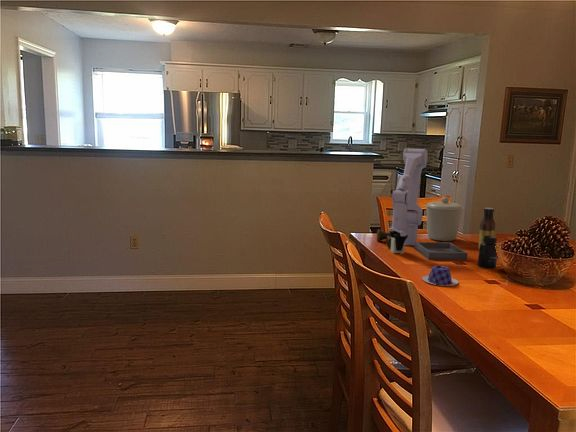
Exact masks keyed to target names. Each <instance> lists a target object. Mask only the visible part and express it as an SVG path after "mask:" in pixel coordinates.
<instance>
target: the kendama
mask: <svg viewBox="0 0 576 432" xmlns="http://www.w3.org/2000/svg"><path fill="white" fill-rule="evenodd" d="M383 240H385V244H386V246H387V247H388V248H389V249H391V235H390V232H385V231H383V230H381V229H379V228H378V229H377V230H376V241H377V242H381V241H383Z"/></svg>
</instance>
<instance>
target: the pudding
mask: <svg viewBox="0 0 576 432" xmlns="http://www.w3.org/2000/svg"><path fill="white" fill-rule="evenodd" d="M421 279H422V280H423V282H425V283H428V284H431V285H434V286H437V285H436V284H441V285H439V286H443V287H450V286H456V285H459V281H458V280H457V279H455V278H453V277H452V274H451V269H450V267H448V266H445V265H444V266H443V265H433V266H432V267H431V270H430V272H429V274H426V275H424V276H422V277H421ZM452 282H453V284H452Z"/></svg>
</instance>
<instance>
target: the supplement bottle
mask: <svg viewBox="0 0 576 432" xmlns="http://www.w3.org/2000/svg"><path fill="white" fill-rule="evenodd" d="M483 241H484V242H482V243H481V244H480V248H478V258H477V266H478V267H480V268H483V269H487V270H488V269H489V270H495V269H496V268H497V264H498V257H499V256H497V253H496V249H495V246H496V245H498V244H497V243H498V237H497V236H495V237H494V236H484V238H483Z"/></svg>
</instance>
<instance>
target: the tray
mask: <svg viewBox="0 0 576 432" xmlns="http://www.w3.org/2000/svg"><path fill="white" fill-rule="evenodd" d="M414 249H415V250H416V251H417V252H418V253H419V254H421V255H422V256H423V257H425V258H426V259H427V260H431V261H433V260H434V261H437V260H438V261H439V260H441V261H442V260H443V261H468V252H467V251H465V250H463V249H461V248H460V247H458V246H457V245H455V244H453V243H452V242H441V241H439V242H438V241H436V242H432V241H431V242H429V241H417V242H415V245H414Z"/></svg>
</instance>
